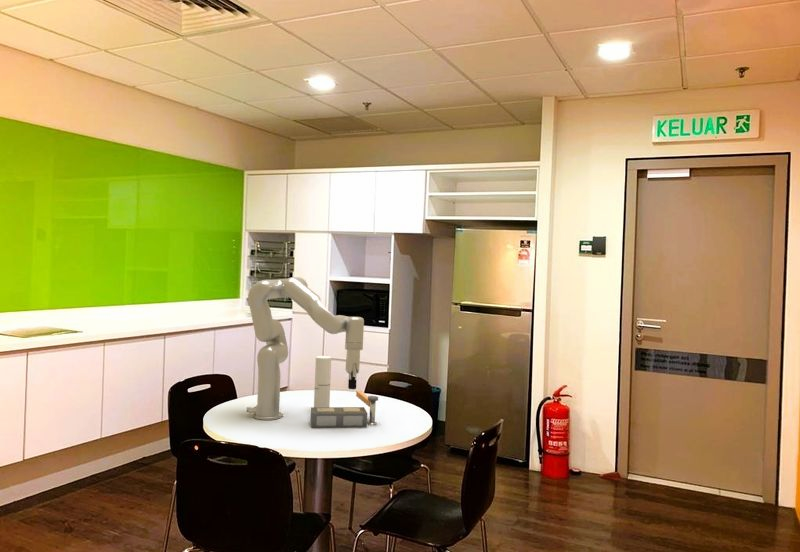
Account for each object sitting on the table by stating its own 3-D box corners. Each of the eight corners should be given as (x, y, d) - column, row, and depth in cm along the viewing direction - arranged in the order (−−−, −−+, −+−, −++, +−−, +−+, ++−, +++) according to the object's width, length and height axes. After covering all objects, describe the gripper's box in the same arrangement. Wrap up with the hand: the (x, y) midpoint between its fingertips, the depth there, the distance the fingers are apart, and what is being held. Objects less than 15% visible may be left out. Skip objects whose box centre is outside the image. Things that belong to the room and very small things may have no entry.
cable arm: (353, 396, 281) (354, 386, 281) (362, 395, 283) (363, 386, 283) (369, 409, 256) (369, 398, 256) (379, 408, 258) (379, 398, 258)
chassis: (311, 428, 249) (312, 413, 248) (310, 421, 260) (310, 406, 260) (366, 427, 253) (367, 412, 253) (363, 420, 264) (363, 406, 264)
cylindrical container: (326, 413, 275) (328, 358, 274) (311, 412, 276) (313, 357, 276) (331, 410, 282) (333, 356, 281) (316, 408, 283) (318, 355, 283)
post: (368, 425, 257) (368, 401, 257) (366, 422, 261) (367, 399, 261) (377, 425, 258) (378, 401, 258) (375, 422, 262) (376, 399, 262)
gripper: (343, 343, 264) (341, 385, 264) (347, 348, 249) (345, 392, 249) (360, 343, 265) (358, 385, 266) (365, 348, 251) (363, 392, 251)
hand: (352, 388), depth 257 cm, fingers closed
